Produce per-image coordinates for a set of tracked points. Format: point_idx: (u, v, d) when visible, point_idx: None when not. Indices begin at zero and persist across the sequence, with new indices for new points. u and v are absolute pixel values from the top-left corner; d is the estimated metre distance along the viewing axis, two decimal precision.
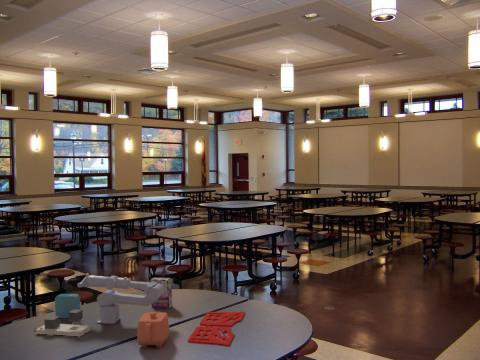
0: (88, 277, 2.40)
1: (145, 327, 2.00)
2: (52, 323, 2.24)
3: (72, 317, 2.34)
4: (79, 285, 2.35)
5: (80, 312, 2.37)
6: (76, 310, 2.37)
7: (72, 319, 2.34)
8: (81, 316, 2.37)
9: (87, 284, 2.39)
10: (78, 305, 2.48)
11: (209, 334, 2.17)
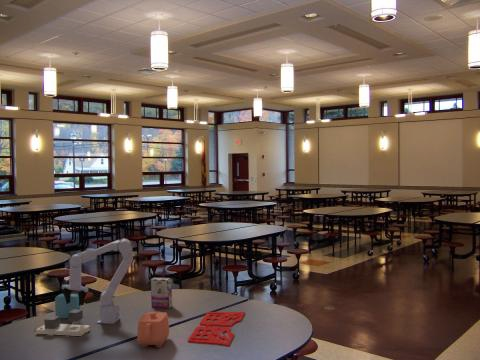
0: (74, 285, 2.34)
1: (145, 327, 2.00)
2: (52, 323, 2.24)
3: (72, 317, 2.34)
4: (87, 289, 2.34)
5: (80, 312, 2.37)
6: (76, 310, 2.37)
7: (72, 319, 2.34)
8: (81, 316, 2.37)
9: (80, 284, 2.36)
10: (78, 305, 2.48)
11: (209, 334, 2.17)
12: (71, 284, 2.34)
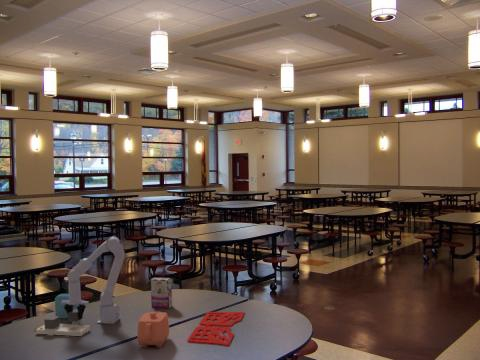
0: (74, 300, 2.34)
1: (145, 327, 2.00)
2: (52, 323, 2.24)
3: (72, 317, 2.34)
4: (87, 303, 2.35)
5: None
6: (76, 310, 2.37)
7: (72, 319, 2.34)
8: None
9: (80, 298, 2.37)
10: (78, 305, 2.48)
11: (209, 334, 2.17)
12: (71, 299, 2.34)
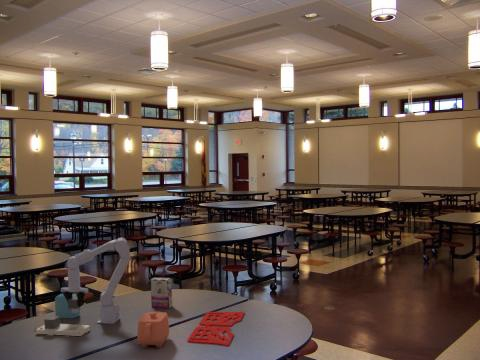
0: (74, 287, 2.33)
1: (145, 327, 2.00)
2: (52, 323, 2.24)
3: (71, 304, 2.34)
4: (87, 290, 2.35)
5: None
6: (76, 297, 2.37)
7: (72, 306, 2.34)
8: None
9: None
10: None
11: (209, 334, 2.17)
12: (70, 286, 2.33)
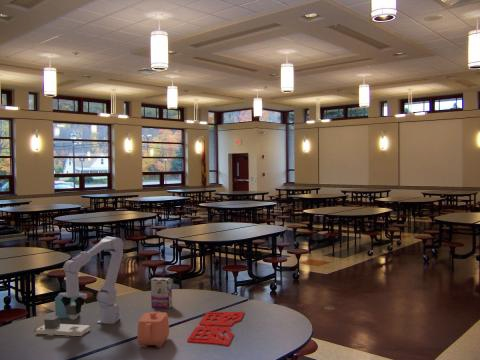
0: (72, 293, 2.22)
1: (145, 327, 2.00)
2: (52, 323, 2.24)
3: (69, 310, 2.23)
4: (86, 295, 2.24)
5: None
6: (74, 303, 2.26)
7: (70, 312, 2.23)
8: None
9: (78, 291, 2.25)
10: None
11: (208, 334, 2.17)
12: (69, 292, 2.22)
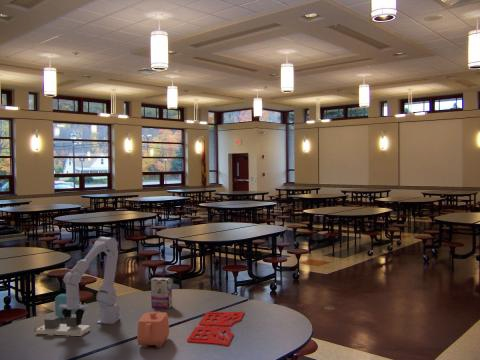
0: (72, 305, 2.21)
1: (145, 327, 2.00)
2: (52, 323, 2.24)
3: (70, 322, 2.22)
4: (86, 307, 2.23)
5: None
6: (74, 315, 2.25)
7: (70, 324, 2.22)
8: None
9: None
10: None
11: (208, 334, 2.17)
12: (69, 304, 2.21)
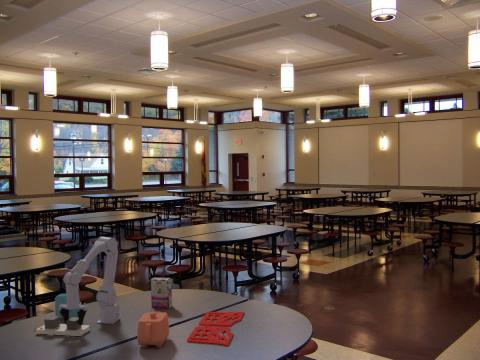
0: (72, 305, 2.21)
1: (145, 327, 2.00)
2: (52, 323, 2.24)
3: (70, 325, 2.22)
4: (86, 307, 2.23)
5: None
6: (74, 318, 2.25)
7: (70, 327, 2.22)
8: None
9: None
10: None
11: (208, 334, 2.17)
12: (69, 304, 2.21)
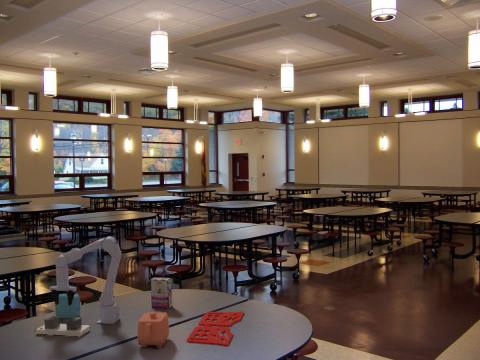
0: (62, 286, 2.34)
1: (145, 327, 2.00)
2: (52, 323, 2.24)
3: (70, 325, 2.22)
4: (75, 288, 2.35)
5: (79, 320, 2.25)
6: (74, 318, 2.25)
7: (70, 327, 2.22)
8: (80, 324, 2.25)
9: (68, 284, 2.37)
10: (78, 305, 2.48)
11: (208, 334, 2.17)
12: (59, 285, 2.34)
